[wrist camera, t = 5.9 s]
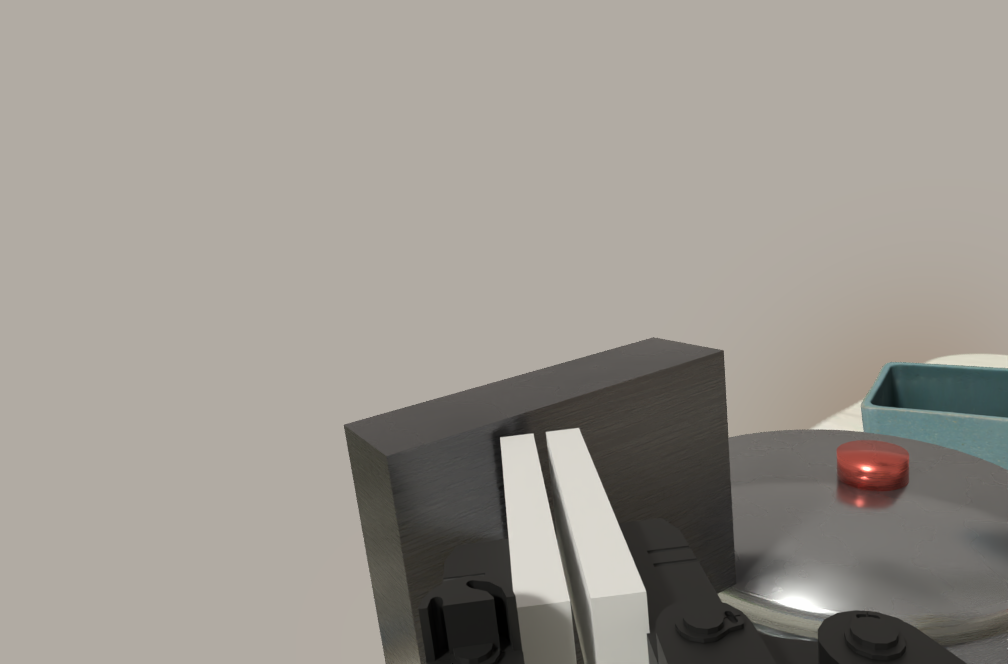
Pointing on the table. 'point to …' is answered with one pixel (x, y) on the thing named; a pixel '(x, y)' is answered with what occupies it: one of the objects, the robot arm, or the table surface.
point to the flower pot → (942, 407)
